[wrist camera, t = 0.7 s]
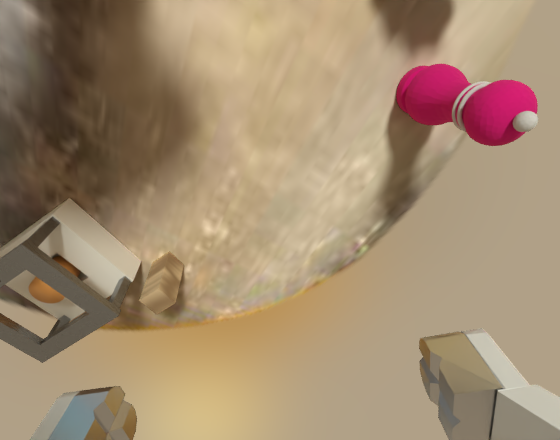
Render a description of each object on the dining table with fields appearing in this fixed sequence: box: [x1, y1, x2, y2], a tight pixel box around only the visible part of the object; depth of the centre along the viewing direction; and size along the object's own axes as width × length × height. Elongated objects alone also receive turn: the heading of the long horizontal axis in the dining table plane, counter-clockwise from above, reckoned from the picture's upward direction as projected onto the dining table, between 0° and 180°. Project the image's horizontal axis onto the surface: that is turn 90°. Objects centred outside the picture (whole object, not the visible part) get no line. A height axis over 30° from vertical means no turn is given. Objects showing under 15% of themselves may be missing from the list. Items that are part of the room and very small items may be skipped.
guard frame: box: [0, 216, 131, 363], centre depth 43 cm, size 14×14×7 cm
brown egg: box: [29, 256, 81, 303], centre depth 45 cm, size 4×4×5 cm
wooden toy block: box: [139, 251, 184, 314], centre depth 50 cm, size 4×4×9 cm
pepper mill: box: [396, 64, 538, 146], centre depth 36 cm, size 7×7×20 cm
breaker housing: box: [0, 198, 141, 321], centre depth 48 cm, size 14×14×5 cm
